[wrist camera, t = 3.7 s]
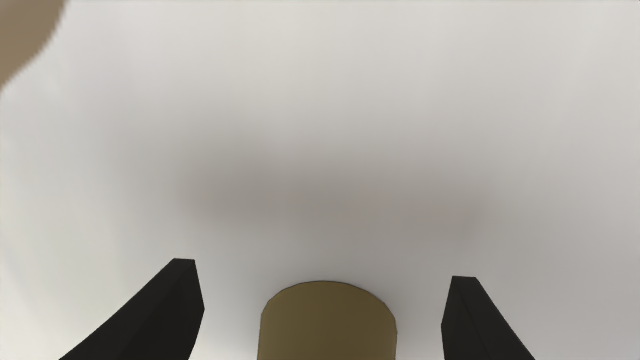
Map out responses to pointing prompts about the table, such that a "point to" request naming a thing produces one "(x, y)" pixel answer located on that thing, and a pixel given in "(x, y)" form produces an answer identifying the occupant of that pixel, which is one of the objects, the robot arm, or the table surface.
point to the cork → (326, 324)
